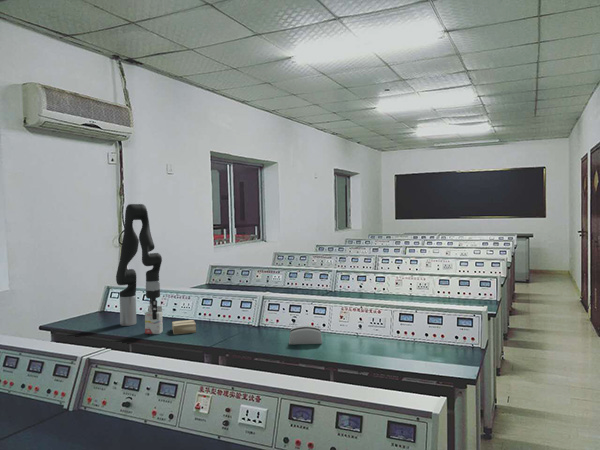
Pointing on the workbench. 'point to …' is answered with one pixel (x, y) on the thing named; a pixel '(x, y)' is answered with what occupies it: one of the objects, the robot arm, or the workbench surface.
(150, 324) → the ink cartridge box
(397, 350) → the workbench surface
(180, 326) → the birch block
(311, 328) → the grey arched block
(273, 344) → the workbench surface
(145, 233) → the robot arm
